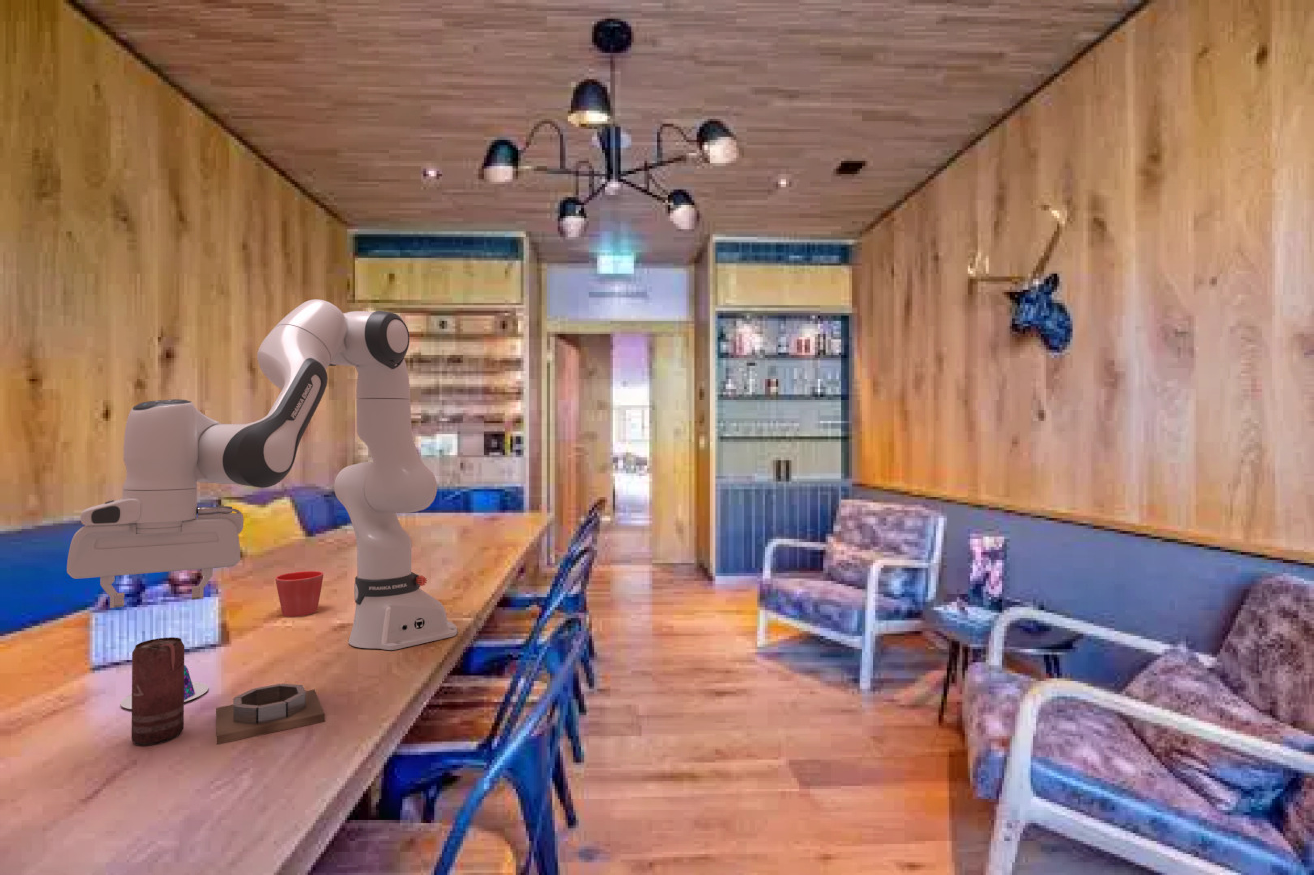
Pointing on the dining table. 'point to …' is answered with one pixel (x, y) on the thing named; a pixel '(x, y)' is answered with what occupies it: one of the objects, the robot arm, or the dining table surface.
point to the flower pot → (299, 592)
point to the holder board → (236, 731)
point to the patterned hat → (188, 690)
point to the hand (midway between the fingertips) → (158, 602)
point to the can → (157, 691)
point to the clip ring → (253, 714)
